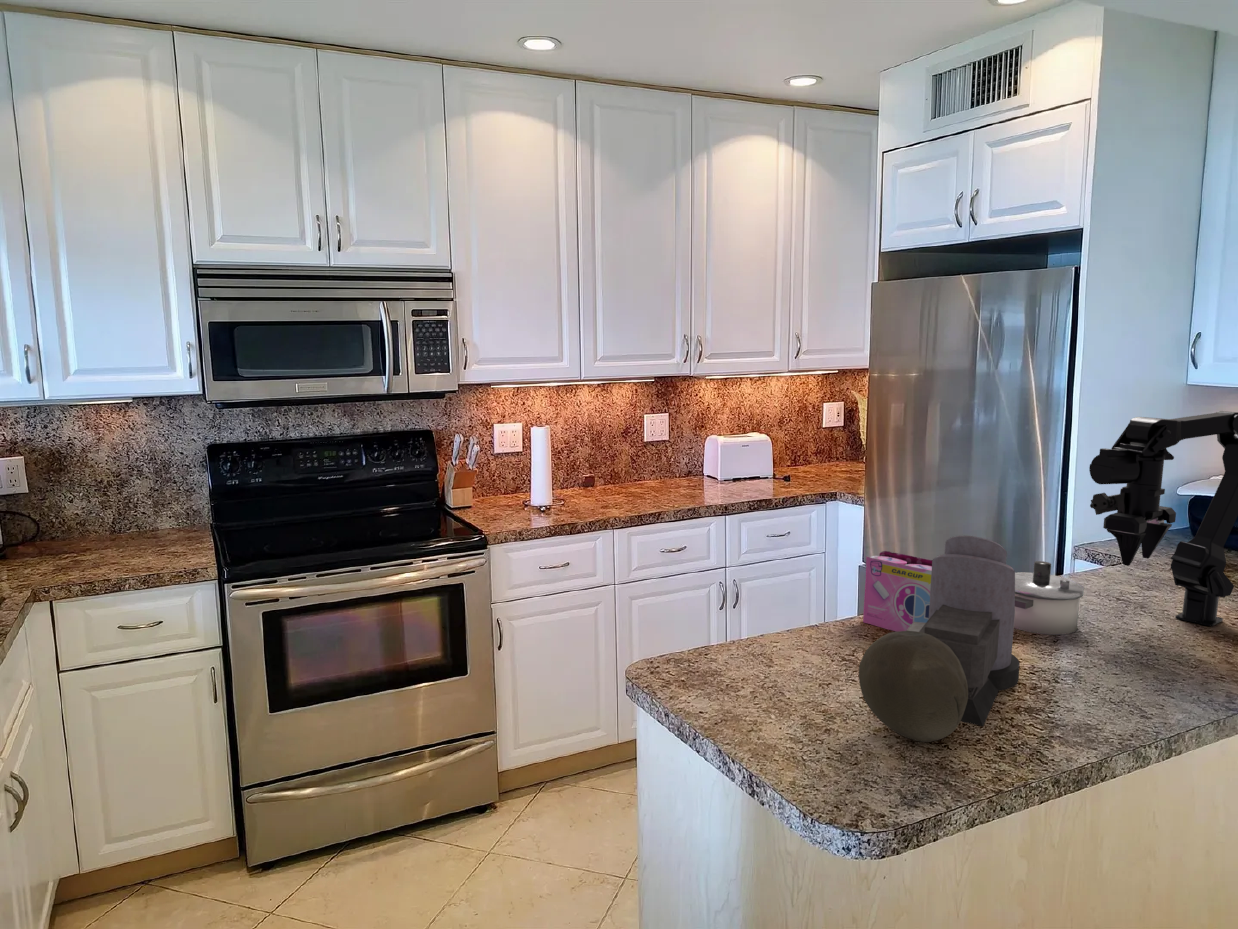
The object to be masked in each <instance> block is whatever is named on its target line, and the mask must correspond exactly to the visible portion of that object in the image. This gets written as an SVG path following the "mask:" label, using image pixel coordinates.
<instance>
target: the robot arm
mask: <svg viewBox="0 0 1238 929" xmlns="http://www.w3.org/2000/svg"><path fill="white" fill-rule="evenodd" d="M1213 435H1214V436H1215V435H1216V437H1217V438H1216V440H1217V442H1218V444H1220V446H1221V447H1223V449H1224V450H1223V454H1222V456H1221V458H1222V463H1223V468H1224V474H1223V476H1222V478H1221V480H1220V482H1219V484H1218V487H1217V489H1216V491H1215V493H1214V495H1213V498H1212V499H1211V501H1210V503H1209V506H1208V508H1207V511H1206V513H1205V515H1204V516H1203V519H1202V521H1201V524H1200V526H1199V527H1198V530H1197V532H1196V535H1195V536H1194V537H1193V538H1192V539H1190V540H1189V541H1187V542H1186V541H1184V540H1183V541H1179V543H1178V544H1177V545H1176V548H1175V552H1174V553H1173V555H1172V556H1171V557H1170V560H1171V564H1170V570H1171V572H1172V576H1173V581H1174V585H1175V586H1179V587H1182V588H1184V595H1183V603H1182V604H1183V606H1182V612H1180V613H1178V614H1176V615H1175V618H1174V619H1177V620H1181V621H1185V622H1189V623H1190V622H1191V623H1195V624H1200V625H1204V626H1207V627H1214V626H1215V625H1218V624H1219V623H1221V622H1223V621H1224V620H1223V619H1224V618H1223V617H1218V609H1219V607H1218V606H1219V601H1220V600H1219V598H1226V597H1229V596H1231V595H1232V592H1233V590H1234V587H1235V585H1234V583H1233V582H1232V581H1231V580H1230V579H1229V578H1228V576H1227V574H1226V573H1225V568H1226V565H1227V559H1226V558H1227V557H1226V555H1225V553H1226V552H1225V549H1224V547H1225V544H1226V542H1227V541H1228V539H1229V536H1230V534H1231V531H1232V529H1233V527H1234V525H1235V523H1236V521H1237V519H1238V412H1236V411H1228V410H1226V411H1225V410H1219V411H1216V412H1214V413H1212V412H1211V413H1205V414H1198V415H1191V416H1182V417H1177V418H1158V417H1147V416H1135V417H1133V418H1131V419H1130V420H1129V423H1128V424H1127V425H1126V427H1125V429H1124V430H1123V432H1122V433H1121V434H1120V435H1119V437H1118V438H1117V440H1116V441H1115V443H1114V444H1113V445H1112V446H1111V448H1100V449H1099V454H1098V455H1095V457H1093V459H1092V461H1091V463H1090V464H1089V467H1088V468H1089V475H1090V478H1091V479H1092V481H1093V482H1094V483H1096V484H1097V485H1123V484H1126V485H1125V486H1123V487H1121V488H1120V493H1117V494H1111V495H1108V494H1107V493H1105V492H1101V493H1096V494H1093V496H1092V499H1091V500H1090V505H1089V507H1090V508H1091V509H1093V510H1094V512H1095V515H1096V516H1097V515H1099V516H1100V515H1102V514H1105V513H1109V512H1113V513H1111V514H1109V515H1107V516H1106V517H1104V518H1103V527H1102V528H1103V529H1104V530H1106V532H1107V533H1110V534H1111V535H1112V536H1114V538H1115V539H1116V542H1117V545H1118V549H1119V554H1120V557H1121V561H1122V565H1124V566H1127V567H1129V566H1130V565H1131V564H1132V562H1133V560H1134V559H1135V557H1136V554H1137V552H1138V550H1139V549H1140V547H1141V555H1142V558H1143V559H1150V558H1151V556H1152V555H1153V554H1154V552H1155V550H1156V548H1157V547H1158V546H1159V544H1160V543H1161V541H1162V539H1164V537H1165V536H1166V534H1167V532H1168V531H1169V530H1170V528H1172V525H1173V523H1176V519H1177V512H1176V511H1175V510H1174V509H1173V507H1172V506H1171V507H1170V506H1162V505H1160V504H1161V503H1160V502H1161V496H1162V495H1165V494H1166V489H1165V488H1162V483H1163V474H1164V464H1165V463H1164V462H1165V461H1172V460H1174V459H1175V456H1174V455H1173V454H1172V453H1171V452H1169V451H1168V449H1169V448H1171V447H1174V446H1176V445H1178V443H1180V442H1181V441H1184V440H1188V439H1194V438H1201V437H1207V436H1213ZM1114 511H1116V512H1114Z"/></svg>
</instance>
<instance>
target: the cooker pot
mask: <svg viewBox="0 0 1238 929" xmlns="http://www.w3.org/2000/svg"><path fill="white" fill-rule="evenodd" d="M1080 602H1081V598H1078V599H1074V600H1046V599H1038V598H1032V597H1026V596H1022V595H1018V594H1015V617H1014V629H1016V630H1019V631H1023V632H1028V633H1033V634H1039V635H1040V634H1041V635H1048V636H1049V635H1050V636H1051V635H1052V636H1054V635H1055V636H1056V635H1057V636H1058V635H1069V634H1073V633H1074V632H1077V630H1078V624H1079V612H1080ZM1072 632H1073V633H1072Z"/></svg>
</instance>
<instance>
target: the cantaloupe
mask: <svg viewBox="0 0 1238 929" xmlns="http://www.w3.org/2000/svg"><path fill="white" fill-rule="evenodd" d="M858 681H859V687H860V690H861V694H862V698H863V700H864V702H865V703H866V705H867V707H868V708H869V710H870V711H871V712H872V713H873V714H874V716H875V717H876V718H878V719H879V720H878V721H880V722H882V724H883V725H885V726H886V727H887V728H888V729H890V730H891V731H893V732H895V733H897V734H898V735H900V736H903V737H904V738H907V739H910V740H912V741H916V742H923V743H928V742H929V743H931V742H935V741H940V740H941V739H944V738H947V737H948V736H950V735H951V734H952V733H954V731H956V729H957V728H958V726H959V725H960V723H961V719H962V716H963V714H964V711H965V708H966V704H967V701H968V685H967V680H966V677H965V673H964V671H963V668H962V666H961V663H960V661H959V659H958V658H957V656H956V655H955V654H954V652H953V651H952V650H951V648H950V647H949V646H948V645H946V644H945V643H943V642H942V641H940V640H938V639H937V638H935V637H933V636H931V635H929V634H926V633H922V632H916V631H897V632H896V631H892V632H888V633H886V634H884V635H883V636H881V637H879V638H878V639H876V640H875V641H874V642H872V643H871V645H869V646H868V648H866V650H865V652H864V654H863V656H862V657H861V661H860V662H859V665H858Z"/></svg>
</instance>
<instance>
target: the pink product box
mask: <svg viewBox="0 0 1238 929" xmlns="http://www.w3.org/2000/svg"><path fill="white" fill-rule="evenodd" d="M865 557H866V558H865V582H864V584H865V585H864V598H863V616H862V623H865V624H868V625H871V626H875V627H878V628H882V629H885V630H889V631H892V632H897V631H906V630H907V629H908V628H909V627H910V626H911V624H912V623H913V622H924V623H926V622H927V621H928V620H929V605H930V588H931V573H932V560H933V559H928V558H925V557H924V558H923V557H918V556H914V555H909V554H905V553H900V552H895V551H894V552H893V551H889V550H882V551H880V552H879V555H871V556H868V555H865Z"/></svg>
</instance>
